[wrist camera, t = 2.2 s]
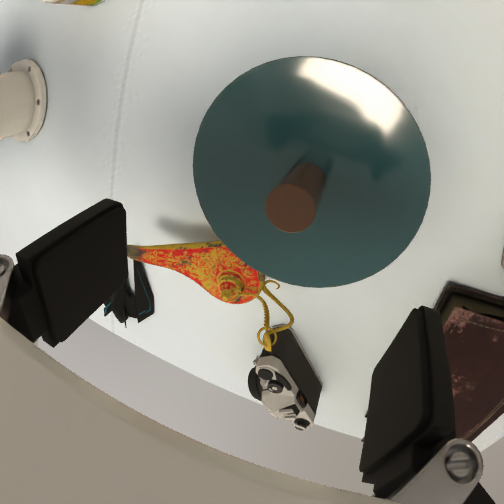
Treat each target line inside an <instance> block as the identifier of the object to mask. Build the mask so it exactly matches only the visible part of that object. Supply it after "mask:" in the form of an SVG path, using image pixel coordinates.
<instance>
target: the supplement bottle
mask: <svg viewBox="0 0 504 504" xmlns="http://www.w3.org/2000/svg"><path fill="white" fill-rule="evenodd" d="M42 1H43V2H45V3H55V4H74V5H86V6H94V5H97V4H99V3H101V2H103V1H104V0H42Z"/></svg>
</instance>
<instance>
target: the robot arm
mask: <svg viewBox="0 0 504 504" xmlns="http://www.w3.org/2000/svg"><path fill="white" fill-rule="evenodd" d="M46 100H47V98H46V86H45V81H44V77H43V75H42V72H41V70H40V68H39V67H38V65H37V64H36V63H35V62H33V61H31V60H28V59H25V60H19V61H17V62H15V63H14V64H13V65H12V66H11V67H10V69H9V70H8V72H7V73H3V74H0V140H1V139H4V138H7V137H10V136H11V137H12V138H14V139H15V140H16V141H19V142H25V141H28V140H31V139H32V138H34V137H35V136H36V135H37V133H38V132H39V130H40V128H41V126H42V124H43V120H44V117H45V111H46ZM16 257H17V261H18V264H16V265H15V266H14V263H13V260H12V258H10V257H9V256H7V255H0V504H495V502H494V501H493V500H492V498H491V497H490V496H489V495H488V493H487V492H486V491H485V489H484V488H483V487H482V486H481V484H480V483H479V480H480V478H481V476H482V472H483V459H482V456H481V454H480V451H479V450H478V449H477V447H476V446H475V445H474V444H473V443H471V442H470V441H468V440H466V439H463V438H456V427H455V412H454V400H453V390H452V381H451V373H450V366H449V363H448V357H447V350H446V344H445V338H444V332H443V327H442V321H441V316H440V313H439V311H437V310H434V309H431V308H428V307H425V306H421V307H419V309H416V308H414V309H413V310H412V311H411V313H410V314H409V316H408V318H407V319H406V321H405V323H404V324H403V326H402V328H401V329H400V331H399V332H398V334H397V335H396V337H395V339H394V340H393V342H392V343H391V345H390V346H389V348H388V349H387V351H386V352H385V354H384V355H383V357H382V358H381V360H380V361H379V363H378V364H377V366H376V367H375V369H374V372H373V375H372V381H371V391H370V400H369V408H368V416H367V423H366V430H365V437H364V444H363V449H362V455H361V461H360V466H359V470H360V472H363V478H362V482H365V483H370V484H374V489H373V492H374V494H373V495H372V496H368V495H363V494H360V493H355V492H351V491H346V490H342V489H338V488H333V487H329V486H326V485H322V484H318V483H314V482H311V481H307V480H304V479H300V478H297V477H294V476H290V475H287V474H283V473H281V472H277V471H274V470H271V469H268V468H265V467H262V466H259V465H256V464H254V463H251V462H248V461H245V460H242V459H240V458H237V457H235V456H232V455H229V454H227V453H224V452H222V451H219V450H217V449H214V448H212V447H210V446H208V445H205V444H203V443H201V442H198V441H196V440H194V439H192V438H189V437H187V436H185V435H183V434H181V433H179V432H176V431H174V430H172V429H170V428H168V427H166V426H164V425H162V424H160V423H158V422H156V421H154V420H152V419H150V418H148V417H147V416H145V415H143V414H141V413H139V412H137V411H135V410H134V409H132V408H130V407H128V406H127V405H125V404H123V403H121V402H119V401H118V400H116V399H115V398H113V397H111V396H109V395H108V394H106V393H105V392H103V391H101V390H100V389H98V388H96V387H95V386H93V385H92V384H90V383H89V382H87V381H85V380H84V379H82V378H81V377H79V376H78V375H76V374H75V373H73V372H72V371H70V370H69V369H67V368H66V367H64V366H63V365H62V364H60V363H59V362H57V361H56V360H55V359H53V358H52V357H51V356H49V355H48V354H46V353H45V352H44V351H42V350H41V349H40V348H38V347H37V343H38V338H39V337H40V336H42V338H43V341H45V342H46V343H48V344H49V345H50V346H52V347H53V348H54V347H55V346H56V345H57V344H58V343H59V342H63V341H65V340H66V339H67V338H68V337H69V336H70V335H71V334H72V333H73V332H74V331H75V330H76V329H77V328H78V327H79V326H80V325H81V324H82V323H83V322H84V321H85V320H86V319H87V318H88V317H89V316H90V315H91V314H93V313H94V312H95V311H96V310H97V309H98V308H99V307H100V306H101V305H102V304H103V303H104V302H105V301H106V300H107V299H108V298H109V297H110V296H112V295H113V294H114V293H115V292H116V291H117V290H118V289H119V288H120V287H121V286H122V285H123V284H124V283H125V282H126V280H127V278H128V260H127V235H126V211H125V209H124V208H123V205H122V204H121V203H120V202H117V201H114V200H111V199H107V198H106V199H104V200H102V201H100V202H98V203H96V204H95V205H93V206H91V207H89V208H88V209H86V210H84V211H83V212H81V213H79V214H77V215H76V216H74V217H72V218H71V219H69V220H67V221H66V222H64V223H62V224H61V225H59V226H58V227H56V228H54V229H53V230H51V231H50V232H48V233H46V234H45V235H43V236H42V237H40V238H39V239H37V240H35V241H34V242H32V243H31V244H29V245H28V246H26V247H25V248H23V249H22V250H20V251H19V252H17V253H16Z"/></svg>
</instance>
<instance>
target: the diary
mask: <svg viewBox="0 0 504 504" xmlns="http://www.w3.org/2000/svg"><path fill="white" fill-rule="evenodd" d="M434 310H437V311H439V313H440V316H441V321H442V327H443V332H444V338H445V344H446V350H447V357H448V363H449V366H450V373H451V381H452V390H453V400H454V412H455V427H456V438H463V439H466V440H468V441H470V442H472V441H473V440H474V439H475V438H476V437H477V436H478V435H479V434H481V433H482V432H483V431H484V430H485V429H486V428H487V427H488V426H490V425H491V424H492V423H493V422H494V421H495V420H496V419H497V418H498V417H500V416H501V415H502V414H503V413H504V299H502V298H498V297H495V296H492V295H489V294H486V293H482V292H479V291H475V290H471V289H467V288H463V287H460V286H456V285H449V286H448V287H447V288H446V290H445V291H444V293H443V295H442V297H441V298H440V300H439V302H438V304H437V306H436V307H435V309H434ZM367 416H368V413H367V414H366V415H365V417H366V418H367ZM362 442H364V438H363V439H362Z"/></svg>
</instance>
